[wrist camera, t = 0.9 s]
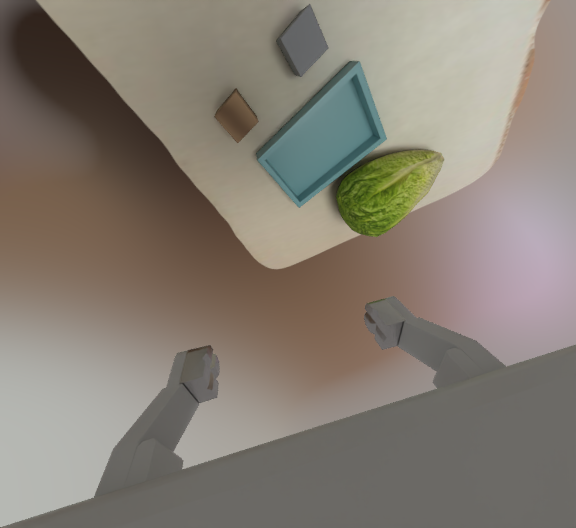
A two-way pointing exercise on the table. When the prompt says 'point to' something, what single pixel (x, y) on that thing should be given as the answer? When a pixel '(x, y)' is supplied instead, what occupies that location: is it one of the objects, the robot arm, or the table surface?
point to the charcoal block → (302, 42)
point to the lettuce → (386, 190)
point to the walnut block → (236, 116)
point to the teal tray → (324, 136)
